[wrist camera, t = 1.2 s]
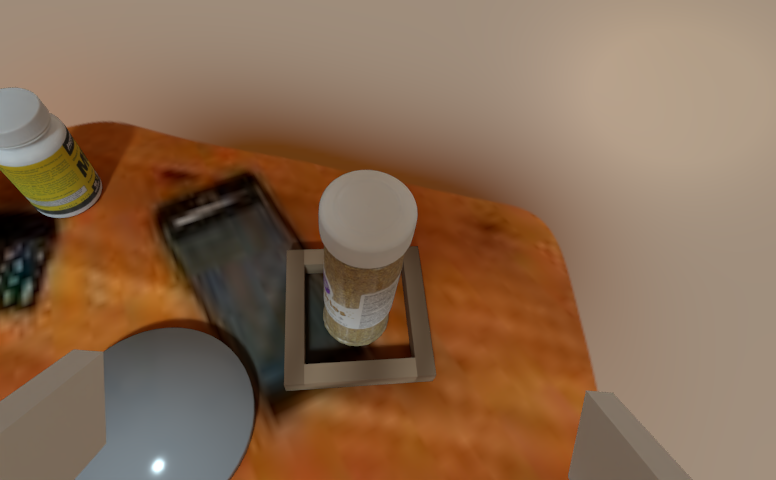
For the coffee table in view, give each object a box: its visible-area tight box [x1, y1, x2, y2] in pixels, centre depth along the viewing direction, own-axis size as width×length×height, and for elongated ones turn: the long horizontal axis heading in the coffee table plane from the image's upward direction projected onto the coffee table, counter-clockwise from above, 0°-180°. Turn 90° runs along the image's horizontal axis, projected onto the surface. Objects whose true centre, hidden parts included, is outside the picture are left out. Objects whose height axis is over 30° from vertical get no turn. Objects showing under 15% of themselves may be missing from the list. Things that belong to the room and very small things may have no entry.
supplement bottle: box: [0, 88, 102, 218], centre depth 32 cm, size 5×5×8 cm
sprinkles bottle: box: [319, 170, 418, 346], centre depth 27 cm, size 5×5×13 cm
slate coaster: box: [74, 328, 256, 480], centre depth 27 cm, size 11×11×1 cm
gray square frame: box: [284, 246, 436, 391], centre depth 32 cm, size 9×9×1 cm
